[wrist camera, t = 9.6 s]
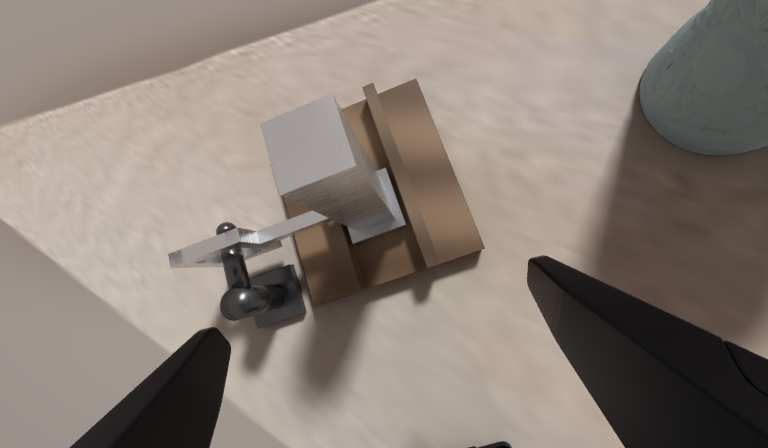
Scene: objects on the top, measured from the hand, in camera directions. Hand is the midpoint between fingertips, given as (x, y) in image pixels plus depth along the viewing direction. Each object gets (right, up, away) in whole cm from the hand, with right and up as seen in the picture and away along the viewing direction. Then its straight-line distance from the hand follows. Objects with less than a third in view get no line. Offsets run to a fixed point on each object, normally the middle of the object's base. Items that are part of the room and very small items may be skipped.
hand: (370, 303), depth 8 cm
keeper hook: (-8, -1, +13) cm, 16 cm away
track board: (-1, +5, +13) cm, 14 cm away
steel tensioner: (-5, +2, +12) cm, 13 cm away
